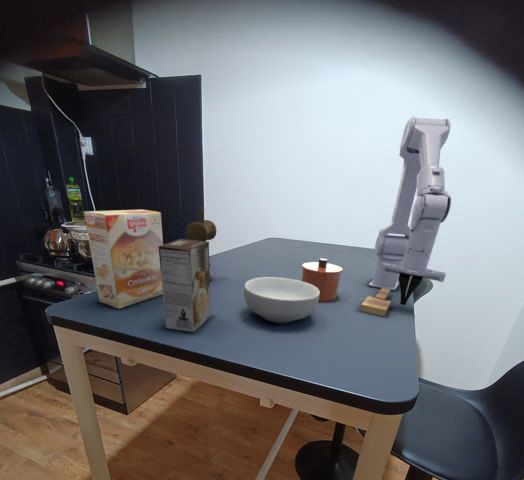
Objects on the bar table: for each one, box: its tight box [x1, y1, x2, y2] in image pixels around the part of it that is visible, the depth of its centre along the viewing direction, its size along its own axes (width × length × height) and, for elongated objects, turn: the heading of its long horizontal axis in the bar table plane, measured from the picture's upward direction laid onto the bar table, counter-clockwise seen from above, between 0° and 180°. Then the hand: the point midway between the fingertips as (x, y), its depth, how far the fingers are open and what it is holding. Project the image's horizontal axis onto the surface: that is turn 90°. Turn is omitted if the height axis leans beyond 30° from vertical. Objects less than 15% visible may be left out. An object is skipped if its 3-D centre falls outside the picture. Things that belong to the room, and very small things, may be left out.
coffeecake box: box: [83, 209, 164, 310], centre depth 73 cm, size 15×7×20 cm, turn 151°
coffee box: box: [159, 238, 211, 333], centre depth 63 cm, size 9×6×16 cm
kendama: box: [185, 206, 218, 281], centre depth 90 cm, size 6×10×20 cm, turn 169°
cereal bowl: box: [243, 276, 320, 324], centre depth 71 cm, size 17×17×7 cm
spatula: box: [359, 288, 392, 317], centre depth 86 cm, size 19×6×2 cm, turn 152°
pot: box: [301, 268, 342, 302], centre depth 87 cm, size 10×10×8 cm
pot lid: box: [301, 258, 343, 274], centre depth 85 cm, size 11×11×3 cm
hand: (403, 303), depth 82 cm, fingers closed
